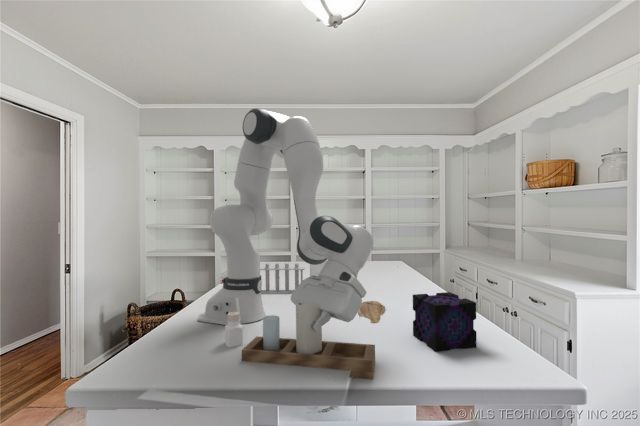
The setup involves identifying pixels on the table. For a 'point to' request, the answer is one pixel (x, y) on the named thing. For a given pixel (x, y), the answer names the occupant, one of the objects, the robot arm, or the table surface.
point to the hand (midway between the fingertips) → (307, 327)
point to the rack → (317, 356)
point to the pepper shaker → (233, 330)
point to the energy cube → (444, 321)
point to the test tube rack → (285, 278)
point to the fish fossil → (371, 310)
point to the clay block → (307, 329)
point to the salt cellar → (271, 333)
